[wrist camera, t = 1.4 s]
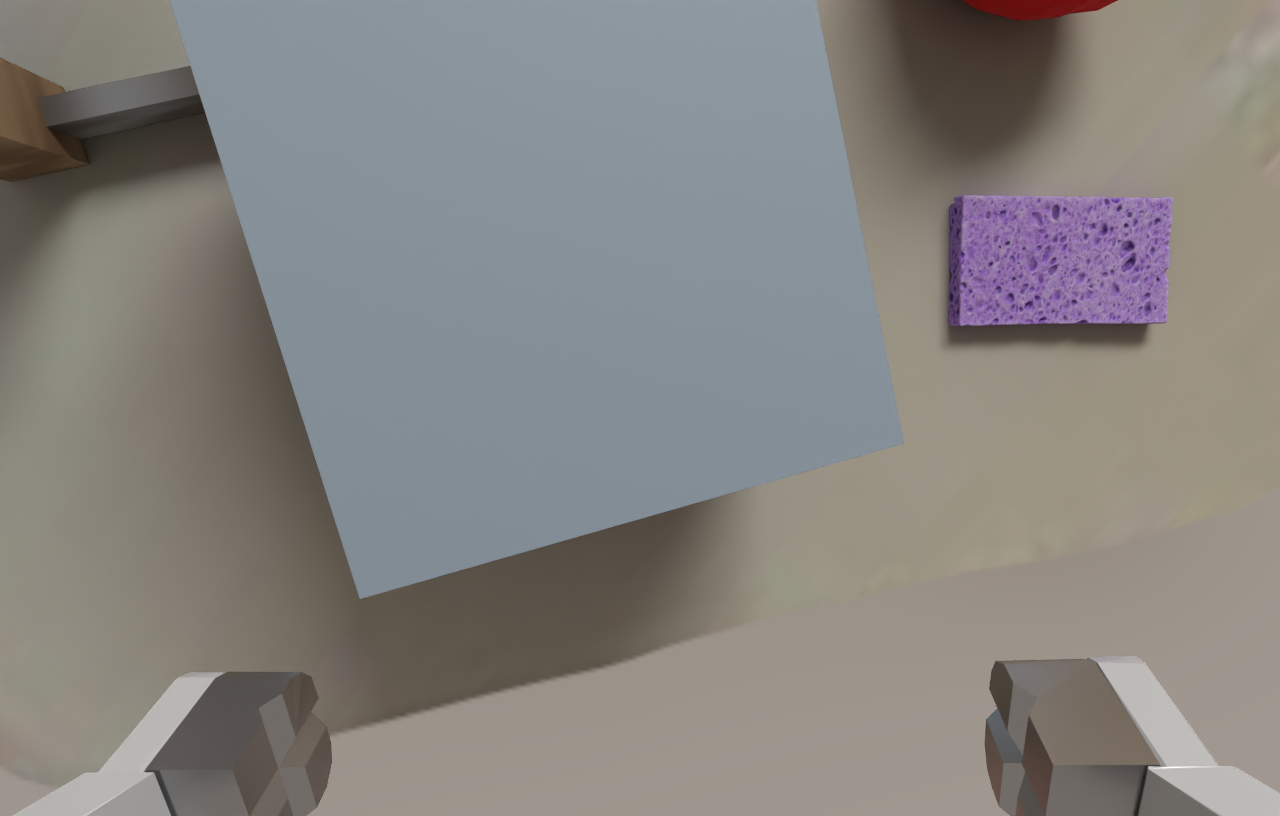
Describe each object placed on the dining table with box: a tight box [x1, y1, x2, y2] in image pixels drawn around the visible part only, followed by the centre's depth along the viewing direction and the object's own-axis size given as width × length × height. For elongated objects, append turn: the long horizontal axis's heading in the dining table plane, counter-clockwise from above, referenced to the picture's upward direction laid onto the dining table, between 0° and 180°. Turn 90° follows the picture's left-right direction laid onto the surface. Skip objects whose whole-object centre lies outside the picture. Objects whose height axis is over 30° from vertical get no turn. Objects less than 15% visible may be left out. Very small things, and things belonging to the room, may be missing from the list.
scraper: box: [0, 58, 205, 182], centre depth 33 cm, size 16×4×14 cm, turn 104°
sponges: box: [948, 195, 1173, 326], centre depth 47 cm, size 7×13×2 cm, turn 91°
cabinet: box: [170, 0, 904, 599], centre depth 34 cm, size 18×22×18 cm
